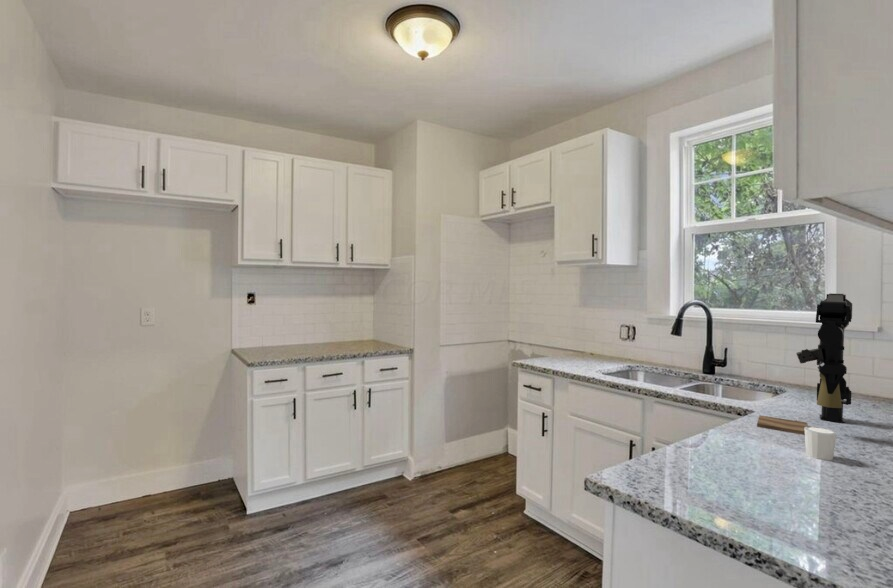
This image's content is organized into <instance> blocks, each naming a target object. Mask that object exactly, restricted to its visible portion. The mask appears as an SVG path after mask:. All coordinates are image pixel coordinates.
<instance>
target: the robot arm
mask: <svg viewBox="0 0 893 588" xmlns="http://www.w3.org/2000/svg"><path fill="white" fill-rule="evenodd" d="M846 295H847V294H845V293H827V294H826V298H825V299H824V300H820V301H819V303H817V304H816V314H815V323H818V324H821V326H820V328H819V329H818V331H817V337H818V339H819V344H817V348H812V349H808V348H806V349H801V351H798V352H796V356H797V359H798V361H799V364H806V363H807V362H814V361H816V365H817V369H818V372H819V374H820V373H821V374H822V375H824V376H825V381H826V386H827V391H828V394H833V392H834V391H835V389H836V387H837V386H838V384H839V388H840V396H841V403H842V408H830V407H824V406H821V414H819V419H820V420H821V421H822V420H823V421H829V422H835V423H836V422H837V423H842V424H843V423H845V422H846V421H845V418H844V417H843V416H844V405H846V406H847V405H852V391H851V389H850V387H849V386H847V380H846V379H845V377H844V376H845V375H846V374H847V370H848V369H847V368H848V367H847V366H846V365H845V363H844V361H845V360H844V351H845V329H846V328H847V327H849V325H850V323H852V320H853V303H852V302H851V301H850V300H848V299H847V296H846ZM821 381H822V379H821V378H820V377H819V382H817V384H816V401H817V400H818V395H819V390H820V385H821Z"/></svg>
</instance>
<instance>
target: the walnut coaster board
mask: <svg viewBox="0 0 893 588" xmlns="http://www.w3.org/2000/svg"><path fill="white" fill-rule="evenodd" d="M756 427H757V428H763V429H768V430H776V431H781V432H787V433H794V434H799V435H804V436H805V430H804V427H809V425H808V422H806V421H805V422H804V421H799V420H792V419H786V418H780V417H773V416H767V415H759V416H758V419H757V423H756Z"/></svg>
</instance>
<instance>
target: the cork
mask: <svg viewBox="0 0 893 588" xmlns="http://www.w3.org/2000/svg"><path fill="white" fill-rule="evenodd" d="M820 378H821V379H822V381H821V385H820V390H819V395H818V400H817V399H816V405H817V406H821V407H822V406H824V407H830V408H842V403H841V396H840V388H839V384H838V386H837V387H836V389H835V391H834V392H833V394H828V391H827V386H826V381H825V376H824V375H822V374H821V373H820V372H819V379H820Z"/></svg>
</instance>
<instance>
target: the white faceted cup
mask: <svg viewBox="0 0 893 588" xmlns="http://www.w3.org/2000/svg"><path fill="white" fill-rule="evenodd" d="M804 430H805V435H804V440H805V441H804V442H805V455H807V456H809V457H810V458H813V459H815V460H816V459H817V460H822V461H832V460H834V455H835V448H836V442H837V436H838V432H836V431H834V430H832V429H827V428H823V427H819V426H808V427H804Z"/></svg>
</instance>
